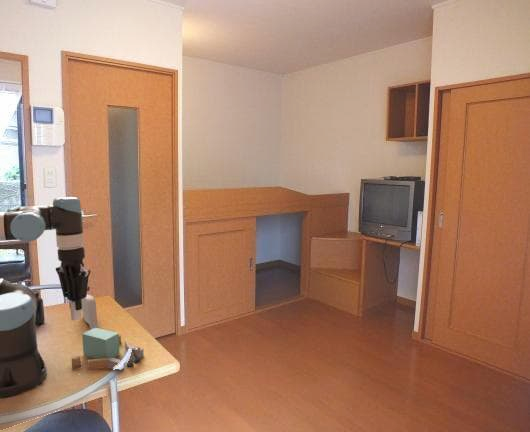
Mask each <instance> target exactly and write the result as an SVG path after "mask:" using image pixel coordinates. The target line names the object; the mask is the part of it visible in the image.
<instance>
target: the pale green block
mask: <svg viewBox="0 0 530 432" xmlns="http://www.w3.org/2000/svg"><path fill="white" fill-rule="evenodd" d="M119 335H120V334H119V332H116V331H115V332H113V331H111V330H106V329H102V328H99V327H98V328H93V329H91V330H87V331H84V332H83V333H81V337H82V351H83V352H82V353H83V356H87V357H90V358H93V359H101V358H111V357H112V358H116V357H117V356H119V355H120V354H121V352H120V344H119Z"/></svg>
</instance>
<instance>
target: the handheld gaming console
mask: <svg viewBox="0 0 530 432" xmlns="http://www.w3.org/2000/svg"><path fill="white" fill-rule="evenodd" d="M81 301H82V309H81V312H82V319H83V320H84V321H85V322H86V323H87V324H88V325H89V328H90V330H91V329H93V328H98V329H99V325H98V315H97V312H98V311H97V303H96V299H95V297H94V296H93V295H90V294H88V293H87V296H86V298H83V299H82V300H81Z"/></svg>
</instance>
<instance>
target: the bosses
mask: <svg viewBox="0 0 530 432" xmlns="http://www.w3.org/2000/svg"><path fill="white" fill-rule="evenodd" d="M135 347H136V348H134V349H133V352H131V356H130V359H129V361H128V363H127V365H125V366H126V368H127V369H130V368H133V367H134V365H135V364H139V363H141V361H142V360H141V358H142V357H141V354H140V348H141V347H140V346H135ZM133 355H134V356H133Z"/></svg>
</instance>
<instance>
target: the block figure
mask: <svg viewBox="0 0 530 432" xmlns="http://www.w3.org/2000/svg"><path fill="white" fill-rule="evenodd" d="M120 344H122V335H121V334H119V345H120ZM136 347H137V346H134V345H131V343H130V341H129V339H128V338H126V339H124V348H125V350H126V351H127V350H128V349H129V348H131V349H132V352H133V349H134V348H136ZM139 348H140V354H141V358H143V357H144V356H145V355H144V348H142V347H139ZM133 357H134V355H133ZM120 360H121V359H119V358H116V357H114V358H112V357H111V358H101V359H96V358H93V359H88V361H87V365H88V367H87V368H88V370H93V369H94V370H95V369H104V368H108V369H112V368H113V367H114V366H115V365H117V364H118V363H119V362H120ZM81 366H82V359H81V356H80V355H76V356H72V357H71V368H73V369H76V368H77V369H78V368H79V367H81Z"/></svg>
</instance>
